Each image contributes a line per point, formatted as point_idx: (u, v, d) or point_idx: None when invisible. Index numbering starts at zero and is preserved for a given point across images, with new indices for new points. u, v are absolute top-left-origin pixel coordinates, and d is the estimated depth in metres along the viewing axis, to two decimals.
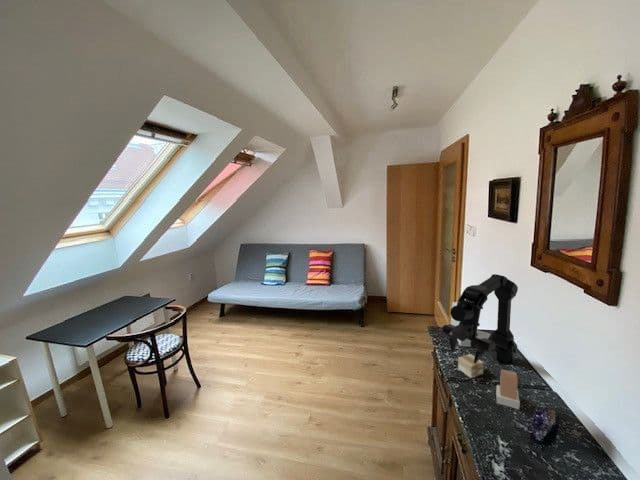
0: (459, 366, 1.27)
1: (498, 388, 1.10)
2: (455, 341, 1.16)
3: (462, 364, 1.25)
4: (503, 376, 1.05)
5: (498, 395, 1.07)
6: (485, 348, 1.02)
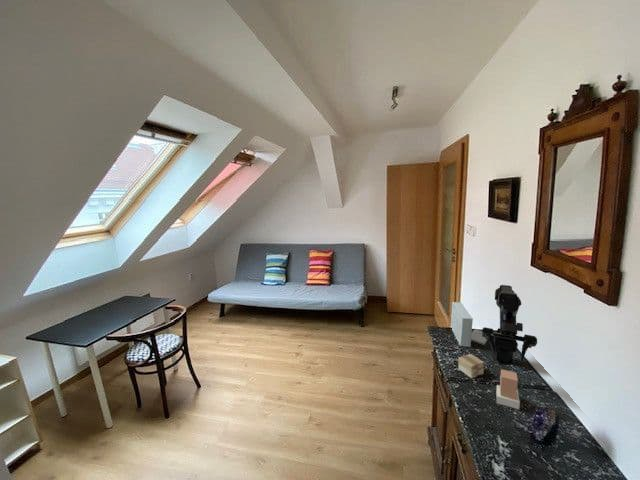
0: (459, 366, 1.27)
1: (498, 388, 1.10)
2: None
3: (462, 364, 1.25)
4: (503, 376, 1.05)
5: (498, 395, 1.07)
6: (534, 340, 1.10)
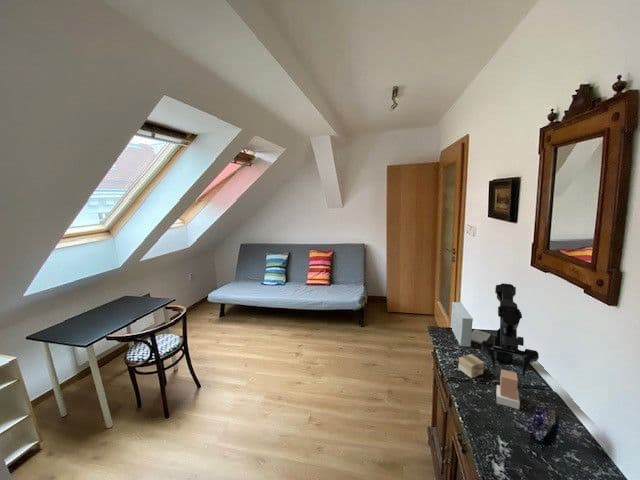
0: (459, 366, 1.27)
1: (498, 388, 1.10)
2: None
3: (462, 364, 1.25)
4: (503, 376, 1.05)
5: (498, 395, 1.07)
6: (536, 355, 1.06)
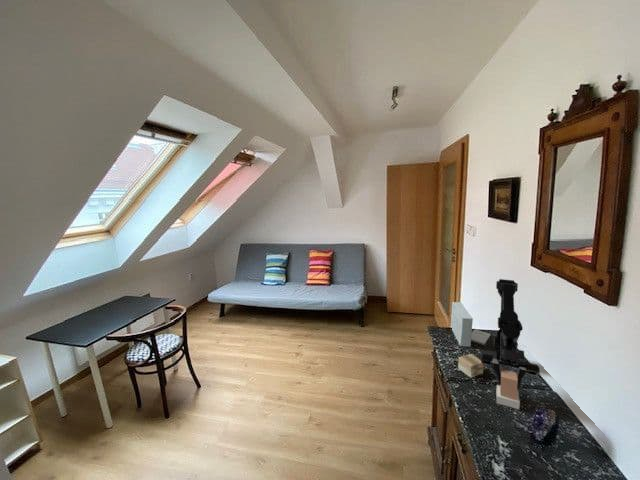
0: (459, 366, 1.27)
1: (498, 388, 1.10)
2: None
3: (462, 364, 1.25)
4: (503, 376, 1.05)
5: (498, 395, 1.07)
6: (537, 369, 1.03)
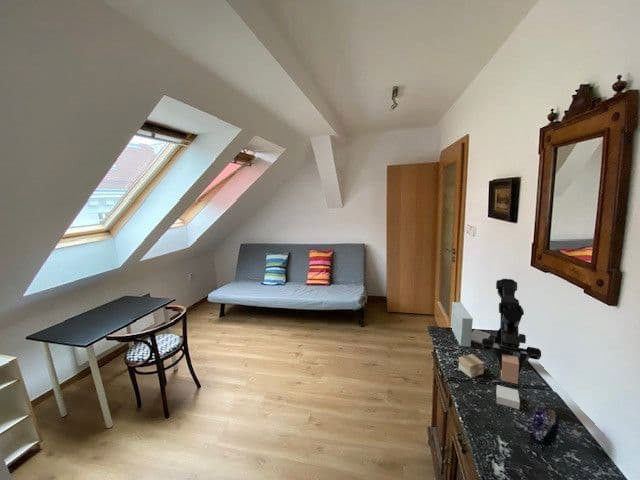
0: (459, 366, 1.27)
1: (498, 388, 1.10)
2: None
3: (462, 364, 1.26)
4: (504, 361, 1.04)
5: (498, 395, 1.07)
6: (538, 353, 1.02)
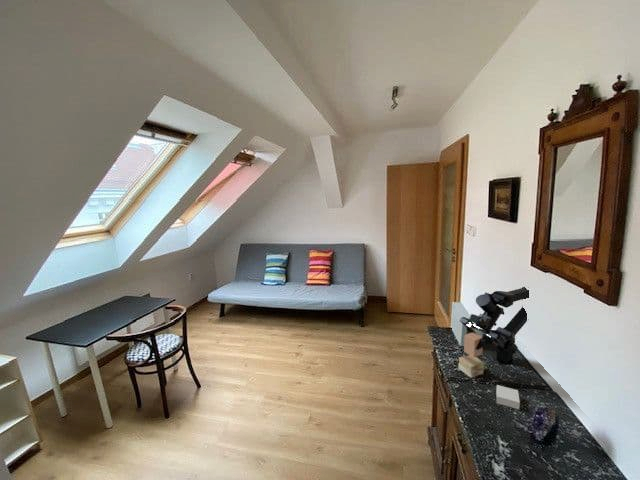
0: (459, 366, 1.27)
1: (498, 388, 1.10)
2: None
3: (462, 364, 1.25)
4: (466, 335, 1.22)
5: (498, 395, 1.07)
6: (496, 337, 1.14)
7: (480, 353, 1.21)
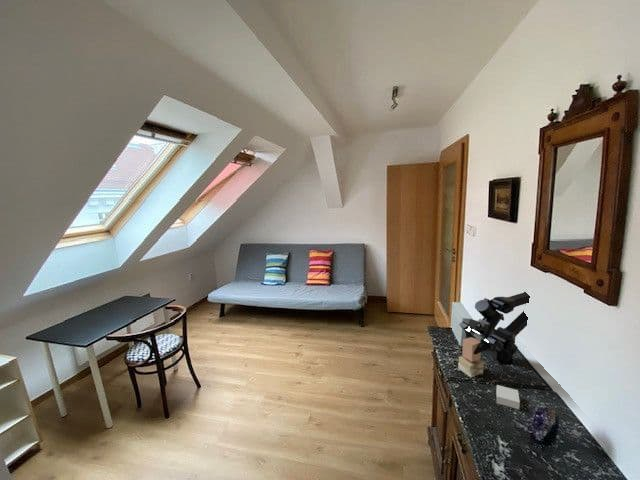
0: (459, 365, 1.27)
1: (498, 388, 1.10)
2: None
3: (462, 363, 1.26)
4: (464, 340, 1.24)
5: (498, 395, 1.07)
6: (493, 342, 1.15)
7: (478, 358, 1.23)
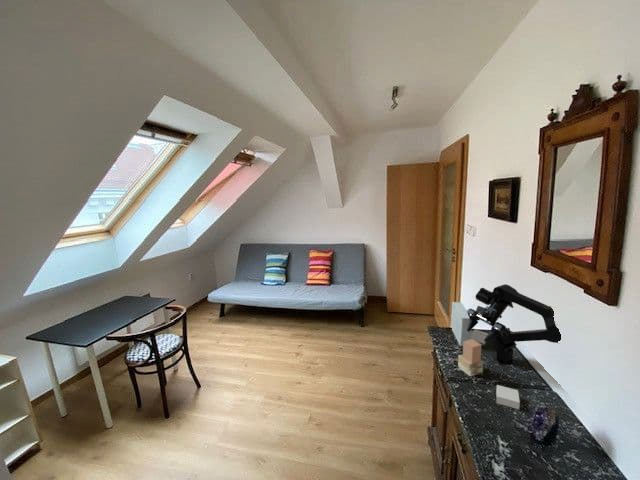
0: (459, 364, 1.28)
1: (498, 388, 1.10)
2: (473, 324, 1.34)
3: (461, 362, 1.27)
4: (465, 342, 1.24)
5: (498, 395, 1.07)
6: (500, 328, 1.20)
7: (478, 360, 1.23)
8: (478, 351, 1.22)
